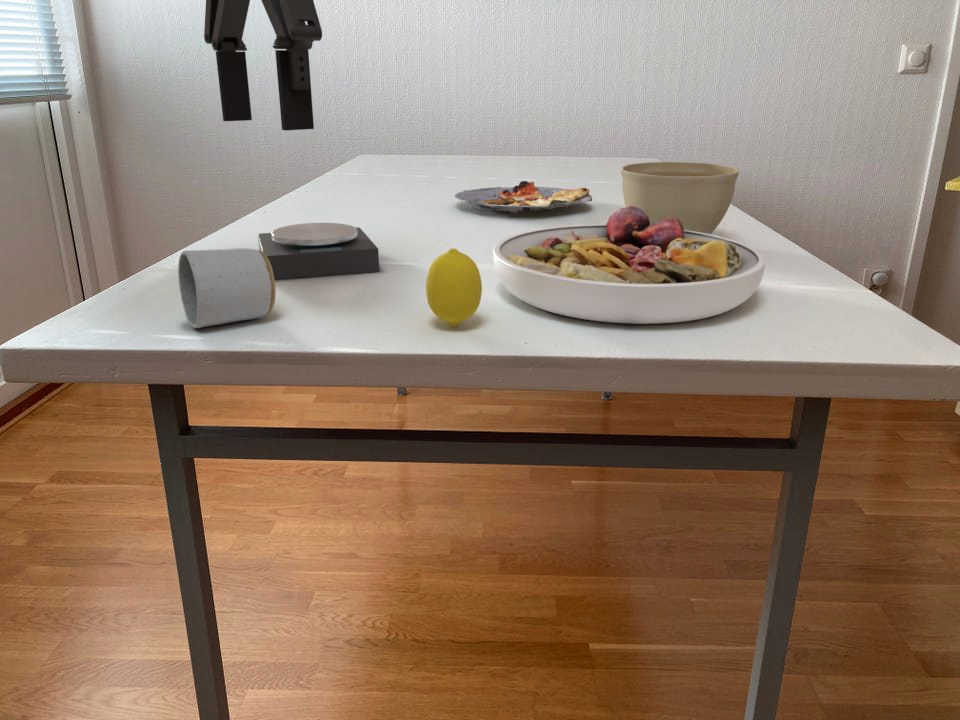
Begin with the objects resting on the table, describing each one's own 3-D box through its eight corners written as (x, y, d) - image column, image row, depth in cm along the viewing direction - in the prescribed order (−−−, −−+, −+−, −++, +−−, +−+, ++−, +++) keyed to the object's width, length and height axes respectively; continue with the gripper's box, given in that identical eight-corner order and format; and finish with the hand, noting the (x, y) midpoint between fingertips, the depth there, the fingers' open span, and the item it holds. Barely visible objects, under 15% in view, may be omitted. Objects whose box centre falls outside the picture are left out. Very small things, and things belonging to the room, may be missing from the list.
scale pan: (275, 248, 95) (274, 242, 95) (269, 231, 105) (268, 225, 105) (364, 242, 98) (363, 236, 98) (350, 226, 108) (350, 220, 108)
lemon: (488, 321, 80) (488, 244, 77) (471, 338, 75) (471, 256, 72) (438, 316, 81) (436, 240, 79) (418, 332, 77) (415, 252, 74)
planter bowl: (633, 228, 124) (638, 158, 120) (738, 238, 117) (747, 164, 113) (602, 249, 110) (606, 171, 107) (718, 261, 104) (728, 178, 100)
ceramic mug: (283, 322, 79) (275, 248, 77) (201, 337, 75) (190, 258, 72) (248, 299, 87) (241, 231, 85) (173, 311, 83) (163, 240, 80)
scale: (265, 280, 95) (263, 255, 94) (259, 255, 107) (257, 232, 106) (379, 271, 99) (378, 247, 98) (360, 248, 111) (359, 226, 110)
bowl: (783, 342, 74) (795, 261, 71) (472, 325, 78) (472, 249, 76) (739, 266, 101) (746, 205, 98) (511, 257, 106) (511, 199, 103)
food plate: (531, 192, 158) (531, 175, 157) (617, 208, 141) (619, 188, 140) (431, 206, 143) (430, 186, 142) (514, 225, 126) (514, 203, 125)
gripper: (354, -159, 59) (367, 131, 67) (228, -107, 77) (250, 116, 85) (260, -176, 55) (286, 136, 62) (150, -118, 73) (181, 118, 81)
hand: (265, 125), depth 74 cm, fingers open, 13 cm apart
